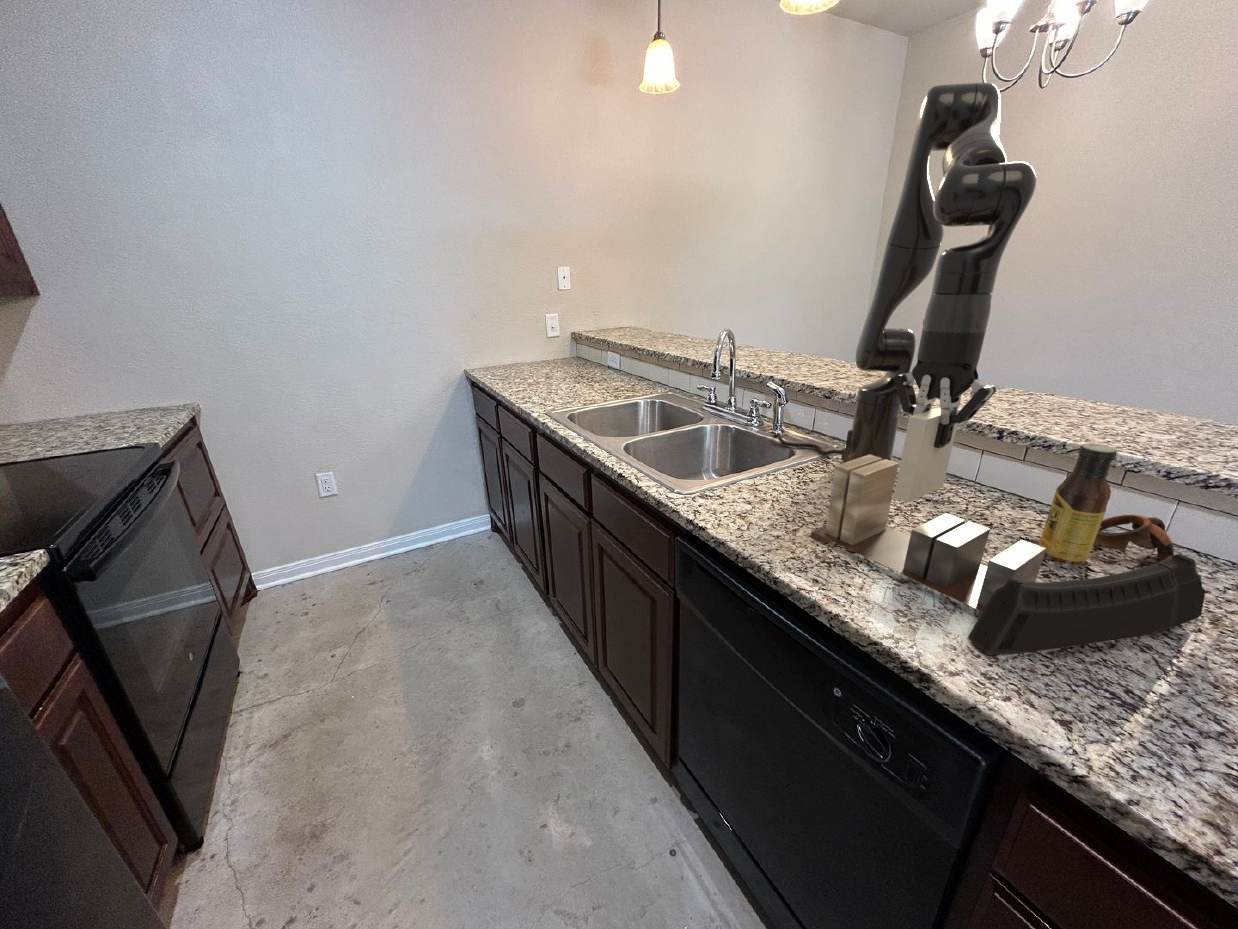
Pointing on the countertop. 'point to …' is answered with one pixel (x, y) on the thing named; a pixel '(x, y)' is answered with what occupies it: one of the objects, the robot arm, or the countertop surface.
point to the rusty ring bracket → (1136, 535)
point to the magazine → (1089, 608)
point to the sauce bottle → (1079, 507)
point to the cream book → (922, 457)
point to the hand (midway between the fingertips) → (928, 443)
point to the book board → (919, 538)
